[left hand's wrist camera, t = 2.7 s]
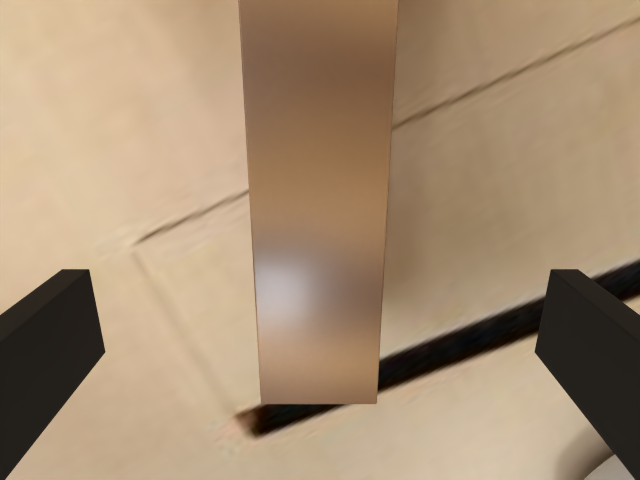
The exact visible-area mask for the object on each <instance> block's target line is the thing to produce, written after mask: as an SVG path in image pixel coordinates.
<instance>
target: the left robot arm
mask: <svg viewBox="0 0 640 480" xmlns="http://www.w3.org/2000/svg"><path fill="white" fill-rule="evenodd" d="M104 353H105V348H104V343H103V338H102V333H101V327H100V322H99V317H98V312H97V307H96V302H95V297H94V292H93V287H92V282H91V277H90V271H89V269H62V270H61V271H59V272H58V273H57V274H55V275H54V276H53V277H51V278H50V279H48V280H47V281H46V282H44V283H43V284H42V285H40V286H39V287H38V288H36V289H35V290H34V291H32V292H31V293H30V294H28V295H27V296H25V297H24V298H23V299H21V300H20V301H19V302H17V303H16V304H15V305H13V306H12V307H11V308H9V309H8V310H7V311H5V312H4V313H2V314H1V315H0V480H5V479H6V478H7V477H8V475H9V474H10V473H11V471H12V470H13V469H14V468H15V466H16V465H17V464H18V463H19V461H20V460H21V459H22V457H23V456H24V455H25V454H26V452H27V451H28V450H29V449H30V447H31V446H32V445H33V443H34V442H35V441H36V440H37V438H38V437H39V436H40V435H41V433H42V432H43V431H44V429H45V428H46V427H47V426H48V424H49V423H50V422H51V421H52V419H53V418H54V417H55V415H56V414H57V413H58V412H59V410H60V409H61V408H62V407H63V405H64V404H65V403H66V401H67V400H68V399H69V398H70V396H71V395H72V394H73V393H74V391H75V390H76V389H77V387H78V386H79V385H80V384H81V382H82V381H83V380H84V379H85V377H86V376H87V375H88V373H89V372H90V371H91V370H92V368H93V367H94V366H95V365H96V363H97V362H98V361H99V359H100V358H101V357H102V356H103V354H104ZM535 353H536V354H537V356H538V357H539V358H540V359H541V361H542V362H543V363H544V365H545V366H546V367H547V368H548V370H549V371H550V372H551V373H552V375H553V376H554V377H555V379H556V380H557V381H558V382H559V384H560V385H561V386H562V387H563V389H564V390H565V391H566V393H567V394H568V395H569V396H570V398H571V399H572V400H573V401H574V403H575V404H576V405H577V407H578V408H579V409H580V410H581V412H582V413H583V414H584V415H585V417H586V418H587V419H588V421H589V422H590V423H591V424H592V426H593V427H594V428H595V429H596V431H597V432H598V433H599V435H600V436H601V437H602V438H603V440H604V441H605V442H606V443H607V445H608V446H609V447H610V449H611V450H612V451H613V452H614V454H615V455H616V456H617V457H618V459H619V460H620V461H621V463H622V464H623V465H624V466H625V468H626V469H627V470H628V471H629V473H630V474H631V475H632V477H633V478H634V479H635V480H640V315H639V314H638V313H636V312H635V311H633V310H632V309H631V308H629V307H628V306H627V305H625V304H624V303H623V302H621V301H620V300H619V299H617V298H616V297H615V296H613V295H612V294H610V293H609V292H608V291H606V290H605V289H604V288H602V287H601V286H600V285H598V284H597V283H596V282H594V281H593V280H592V279H590V278H589V277H587V276H586V275H585V274H583V273H582V272H581V271H579V270H578V269H551V271H550V277H549V282H548V287H547V292H546V297H545V302H544V307H543V312H542V317H541V322H540V327H539V333H538V338H537V343H536V348H535Z"/></svg>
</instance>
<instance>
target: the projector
mask: <svg viewBox="0 0 640 480" xmlns="http://www.w3.org/2000/svg"><path fill="white" fill-rule="evenodd" d="M584 480H635V479H634V478H633V477H632V475H631V474H630V473H629V471H628V470H627V469H626V468H625V466H624V465H623V464H622V463H621V461H620V460H619V459H618V457H617V456H616V455H615V454H614V455H613V456H611V457H610V458H609V459H607V460H606V461H605V462H603V463H602V464H601V465H599V466H598V467H597V468H596V469H595V470H594V471H592V472H591V473H590V474H589V475H588V476H587V477H586V478H585V479H584Z"/></svg>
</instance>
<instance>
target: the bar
mask: <svg viewBox="0 0 640 480" xmlns="http://www.w3.org/2000/svg"><path fill="white" fill-rule="evenodd" d="M238 1H239V19H240V37H241V54H242V72H243V90H244V108H245V125H246V143H247V161H248V179H249V196H250V214H251V232H252V250H253V267H254V285H255V303H256V321H257V338H258V356H259V374H260V392H261V404H376V403H377V387H378V369H379V351H380V332H381V314H382V295H383V277H384V259H385V240H386V222H387V203H388V185H389V167H390V148H391V130H392V111H393V93H394V75H395V56H396V38H397V20H398V1H399V0H238Z"/></svg>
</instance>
